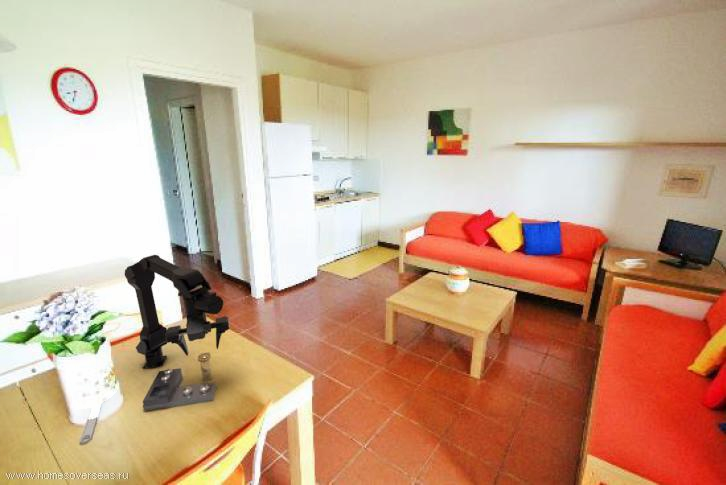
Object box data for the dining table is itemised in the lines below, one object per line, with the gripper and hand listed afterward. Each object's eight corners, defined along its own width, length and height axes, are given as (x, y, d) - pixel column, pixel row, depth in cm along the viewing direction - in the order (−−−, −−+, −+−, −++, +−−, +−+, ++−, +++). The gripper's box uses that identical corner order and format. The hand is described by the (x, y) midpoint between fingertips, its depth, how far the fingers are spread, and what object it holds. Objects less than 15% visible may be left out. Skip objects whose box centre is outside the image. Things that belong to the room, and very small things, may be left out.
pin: (202, 375, 123) (199, 353, 120) (214, 373, 124) (211, 352, 121) (199, 382, 119) (196, 360, 117) (212, 380, 120) (209, 358, 118)
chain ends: (159, 381, 120) (157, 369, 119) (220, 373, 124) (218, 361, 123) (143, 412, 106) (140, 399, 105) (212, 401, 110) (210, 389, 109)
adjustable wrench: (91, 444, 95) (90, 439, 95) (62, 451, 93) (61, 446, 92) (115, 387, 117) (114, 382, 117) (92, 392, 115) (91, 387, 115)
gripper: (157, 326, 101) (168, 372, 105) (225, 313, 107) (232, 357, 111) (164, 311, 111) (172, 354, 115) (225, 300, 117) (232, 340, 121)
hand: (202, 351), depth 115 cm, fingers open, 9 cm apart
